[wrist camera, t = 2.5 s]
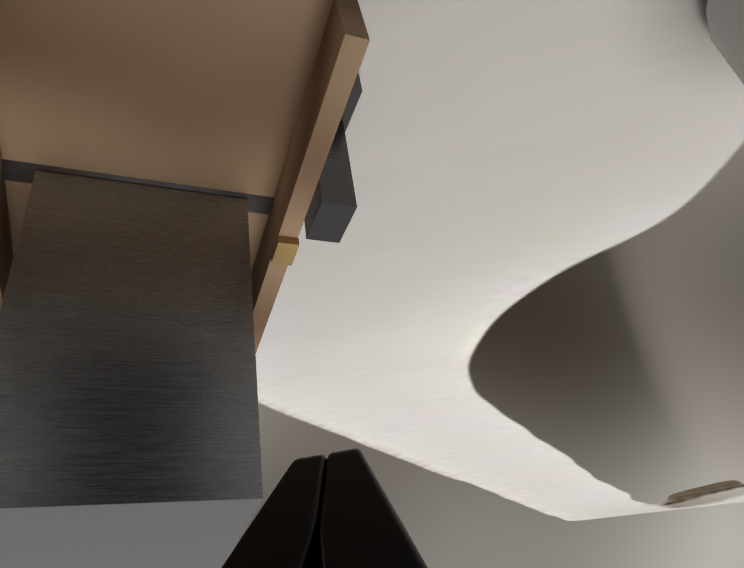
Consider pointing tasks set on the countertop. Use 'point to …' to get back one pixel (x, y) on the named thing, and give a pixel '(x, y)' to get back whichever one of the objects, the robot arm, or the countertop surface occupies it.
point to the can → (728, 31)
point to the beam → (179, 106)
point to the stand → (334, 185)
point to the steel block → (127, 379)
